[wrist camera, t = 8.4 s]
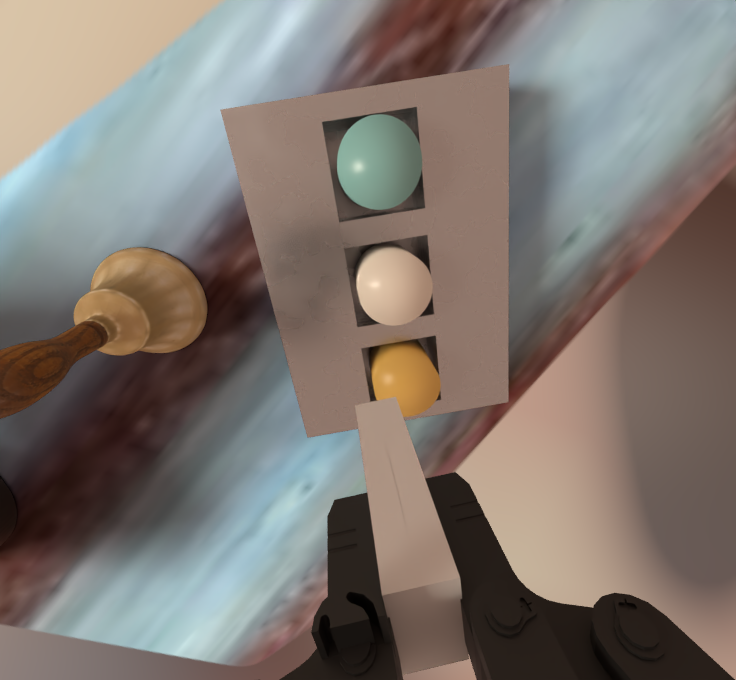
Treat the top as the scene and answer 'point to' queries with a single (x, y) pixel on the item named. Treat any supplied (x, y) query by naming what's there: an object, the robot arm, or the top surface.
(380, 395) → the amber button
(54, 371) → the hand bell
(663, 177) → the top surface
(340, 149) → the teal button
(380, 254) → the ivory button
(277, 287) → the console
